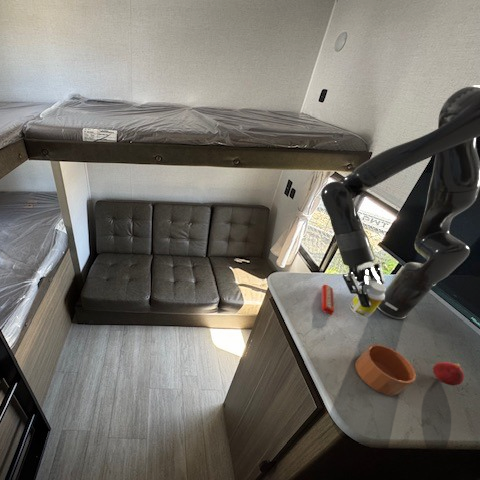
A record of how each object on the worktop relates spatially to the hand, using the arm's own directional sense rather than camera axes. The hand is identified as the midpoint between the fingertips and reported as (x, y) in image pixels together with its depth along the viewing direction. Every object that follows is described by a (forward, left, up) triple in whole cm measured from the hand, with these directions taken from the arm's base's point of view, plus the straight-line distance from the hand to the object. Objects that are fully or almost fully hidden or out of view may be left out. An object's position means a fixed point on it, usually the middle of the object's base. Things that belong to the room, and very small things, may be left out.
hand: (373, 303), depth 72 cm
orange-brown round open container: (+1, +11, -19) cm, 22 cm away
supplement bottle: (0, -2, -5) cm, 5 cm away
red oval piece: (-16, +19, -19) cm, 31 cm away
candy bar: (-11, -15, -19) cm, 27 cm away
